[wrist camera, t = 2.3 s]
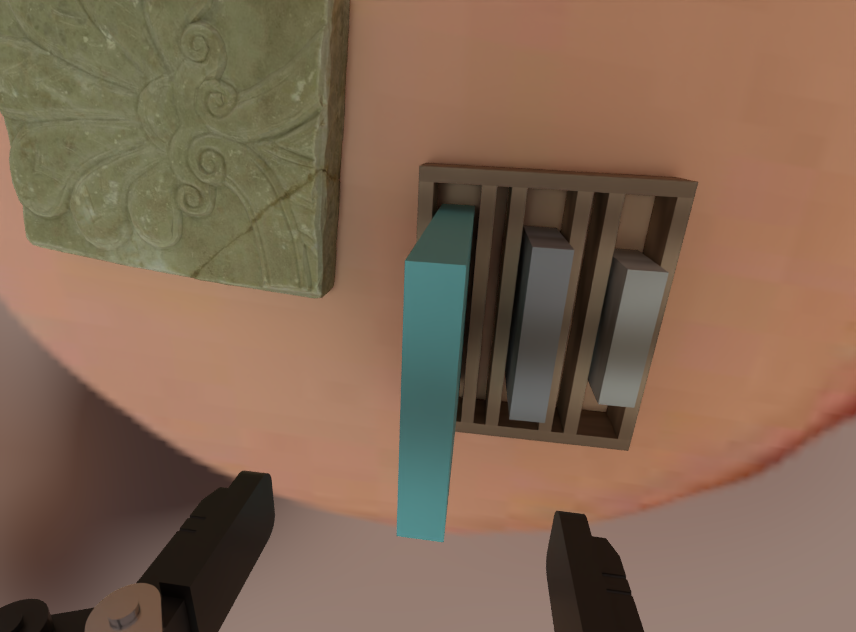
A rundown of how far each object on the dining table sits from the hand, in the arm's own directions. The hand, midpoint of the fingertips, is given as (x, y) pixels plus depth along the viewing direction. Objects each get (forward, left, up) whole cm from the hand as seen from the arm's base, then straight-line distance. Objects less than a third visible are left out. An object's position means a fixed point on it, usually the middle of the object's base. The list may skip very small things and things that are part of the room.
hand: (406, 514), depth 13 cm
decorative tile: (-10, -17, -19) cm, 28 cm away
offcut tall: (0, +5, -19) cm, 19 cm away
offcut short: (0, +10, -19) cm, 21 cm away
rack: (0, +5, -19) cm, 19 cm away
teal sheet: (0, 0, -19) cm, 19 cm away
